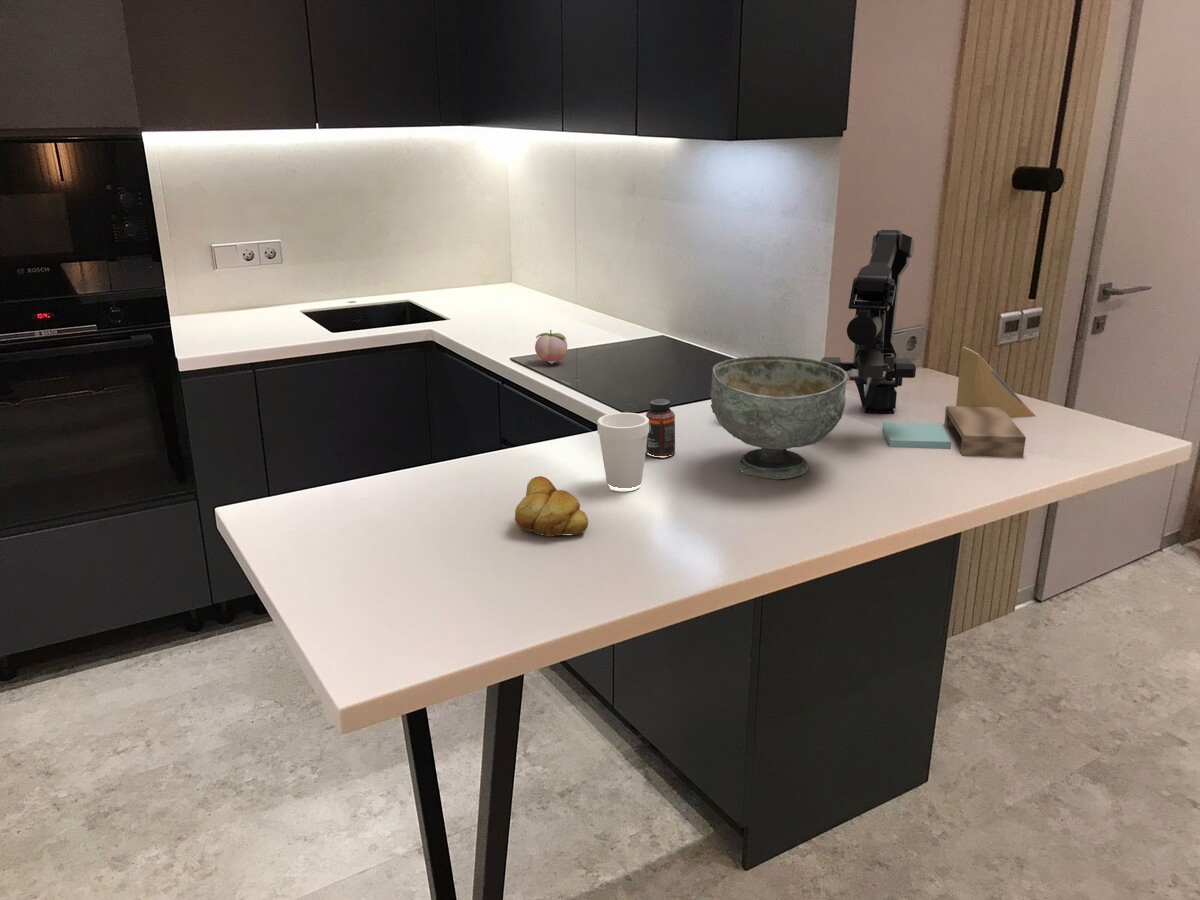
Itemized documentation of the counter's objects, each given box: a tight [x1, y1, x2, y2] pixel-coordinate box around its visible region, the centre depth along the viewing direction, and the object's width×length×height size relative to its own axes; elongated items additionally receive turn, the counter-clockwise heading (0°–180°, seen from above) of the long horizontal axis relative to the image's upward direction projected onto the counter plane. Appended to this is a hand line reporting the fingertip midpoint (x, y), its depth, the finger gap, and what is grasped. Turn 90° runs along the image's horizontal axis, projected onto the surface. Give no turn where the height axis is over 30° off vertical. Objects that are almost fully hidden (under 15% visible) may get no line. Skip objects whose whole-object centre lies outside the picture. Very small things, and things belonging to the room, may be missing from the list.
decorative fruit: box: [534, 329, 568, 362], centre depth 262 cm, size 9×8×10 cm
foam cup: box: [596, 412, 649, 488], centre depth 173 cm, size 10×9×13 cm
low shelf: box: [943, 405, 1027, 458], centre depth 194 cm, size 12×20×4 cm, turn 171°
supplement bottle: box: [645, 398, 676, 456], centre depth 189 cm, size 6×6×11 cm
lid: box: [882, 421, 952, 450], centre depth 197 cm, size 12×12×2 cm
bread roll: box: [514, 475, 589, 537], centre depth 156 cm, size 13×10×8 cm
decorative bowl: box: [709, 355, 848, 480], centre depth 179 cm, size 26×26×20 cm
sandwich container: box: [955, 346, 1037, 419], centre depth 210 cm, size 9×15×15 cm, turn 94°
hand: (864, 406), depth 196 cm, fingers closed
